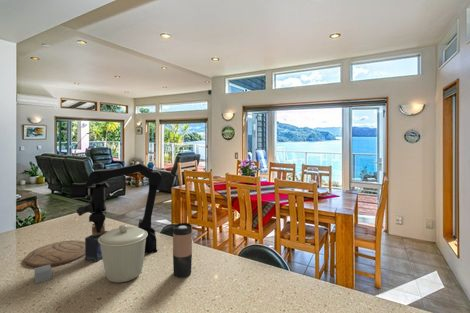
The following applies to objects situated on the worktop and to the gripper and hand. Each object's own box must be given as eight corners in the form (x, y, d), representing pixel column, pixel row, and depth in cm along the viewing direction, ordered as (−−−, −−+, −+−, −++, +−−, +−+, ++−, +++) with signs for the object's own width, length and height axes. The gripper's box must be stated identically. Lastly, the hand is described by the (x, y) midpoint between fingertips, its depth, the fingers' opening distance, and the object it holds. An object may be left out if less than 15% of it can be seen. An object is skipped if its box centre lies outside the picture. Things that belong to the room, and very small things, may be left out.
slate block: (50, 273, 104) (50, 264, 104) (51, 279, 100) (51, 269, 100) (34, 278, 101) (34, 268, 100) (35, 283, 97) (35, 273, 97)
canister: (98, 294, 91) (97, 236, 90) (99, 270, 107) (98, 220, 106) (151, 281, 100) (151, 228, 98) (144, 261, 116) (144, 215, 114)
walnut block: (104, 230, 122) (104, 222, 122) (104, 234, 117) (104, 225, 117) (92, 232, 120) (92, 223, 119) (92, 235, 115) (91, 227, 115)
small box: (97, 262, 114) (96, 239, 113) (84, 260, 115) (83, 238, 114) (113, 252, 124) (112, 230, 123) (101, 250, 125) (100, 229, 124)
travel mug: (195, 270, 108) (195, 224, 107) (185, 279, 101) (186, 230, 100) (179, 267, 111) (179, 221, 109) (169, 276, 104) (169, 227, 102)
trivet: (51, 273, 105) (50, 268, 105) (11, 262, 113) (11, 258, 113) (101, 248, 128) (101, 244, 128) (66, 240, 137) (66, 237, 137)
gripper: (79, 194, 122) (80, 226, 123) (74, 204, 105) (75, 240, 107) (105, 192, 127) (106, 223, 128) (104, 201, 110) (105, 236, 111)
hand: (98, 230), depth 119 cm, fingers closed on walnut block, 5 cm apart
